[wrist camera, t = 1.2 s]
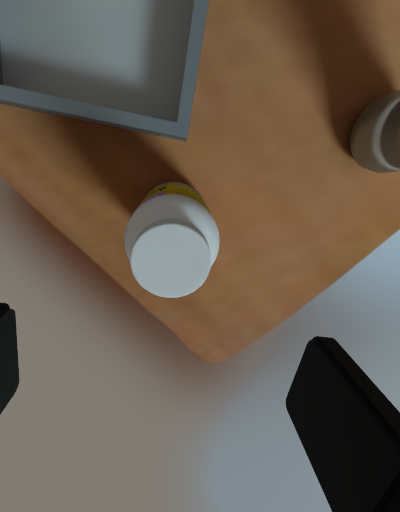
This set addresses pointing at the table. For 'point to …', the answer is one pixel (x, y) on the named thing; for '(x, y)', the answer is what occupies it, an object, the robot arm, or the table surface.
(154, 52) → the box
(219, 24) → the table surface
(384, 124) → the plastic bottle
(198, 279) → the supplement bottle
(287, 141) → the table surface
